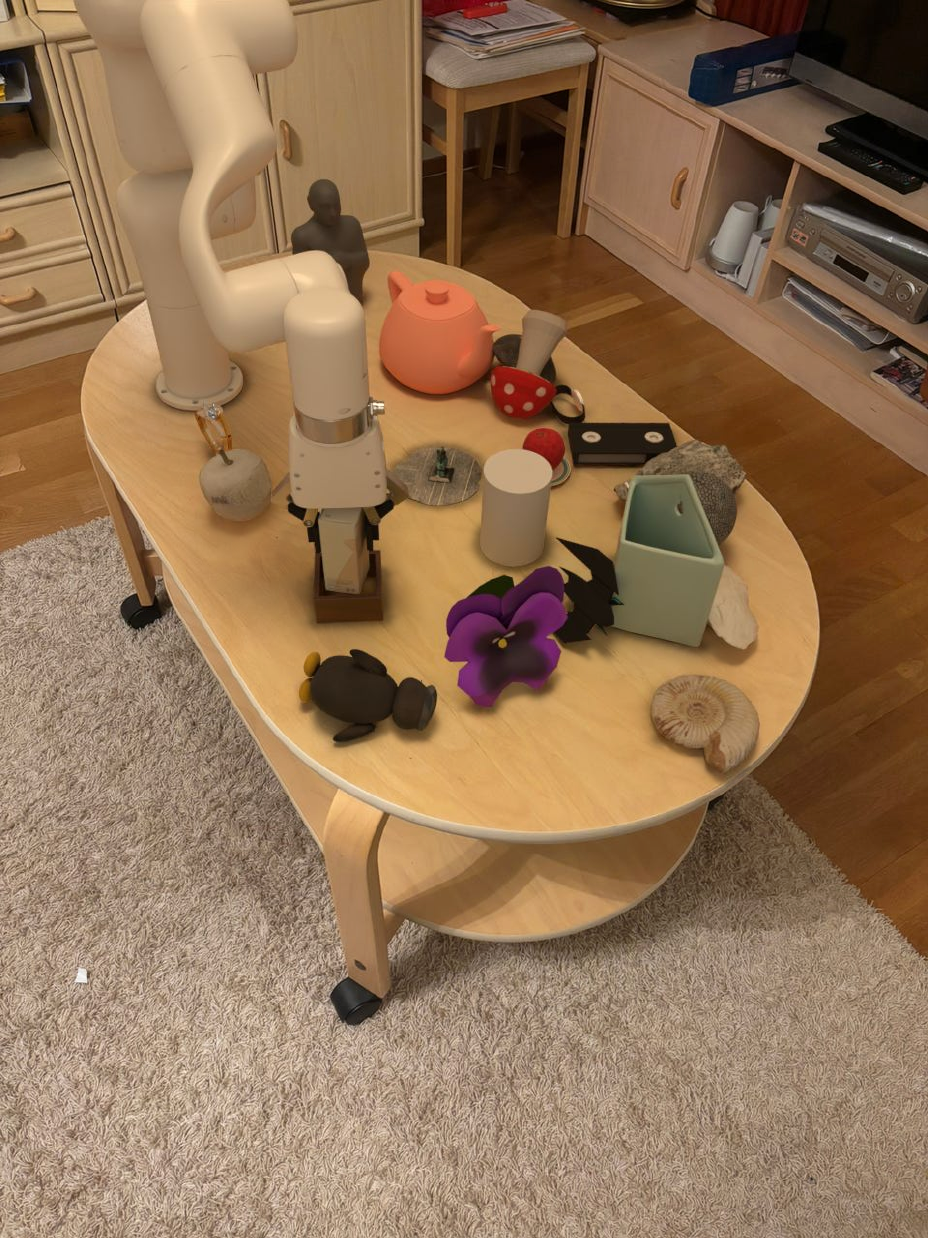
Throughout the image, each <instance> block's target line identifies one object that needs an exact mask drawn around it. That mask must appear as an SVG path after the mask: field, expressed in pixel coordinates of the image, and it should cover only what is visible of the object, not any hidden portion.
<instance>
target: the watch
mask: <svg viewBox="0 0 928 1238" xmlns="http://www.w3.org/2000/svg"><path fill="white" fill-rule="evenodd" d="M554 387H555V388H556V390H557V391H556V395H555V397H556V396H558V395H560V394H564V395H567V396H570V398H572V400H573V403H574V405H575V407H576V408H577V409H578V411H579V412H582V413H581V414H579V415H577V416H567V415H565V414H563V413H561V412H560V411H559V410H558V409H557V407H556V406H555V404H554V402H553V400H552V401H551V402H550V403H549V404H550V408H551V413H552V414H553V416H554V417H557V418H558V420H559V421H560V422H561V423H563V424H566V425H568V426H569V423H584V421H585V419H586V406H585V405H586V404H585V401H584V398H583V397H582V394H581V392H580V391H579V390H578V389H576V388H575V389H572V388H571V387H570V386H569V385H567V384H557V385H554Z"/></svg>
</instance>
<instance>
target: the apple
mask: <svg viewBox="0 0 928 1238" xmlns="http://www.w3.org/2000/svg"><path fill="white" fill-rule="evenodd" d="M521 449H523V450H528V451H532V452H534V453H537V454H539V455H541V456H542V457H544V458H545V459H546V460H547V461H548V462H549V464H550V465H551V468H552V481H551V487H554V486H557V485H559V484H562V483H563V482H564V481H566V480H567V479H568V478H569V476H570V474H571V469H572V468H571V464H570V462H569V460H568V459H567V457H565V454H566V447H565V441H564V439H563V437H562V435H561V434H560V433H559V432H558V431H556V430H554V429H551V428H548V427H538V428H535V429H533V430H531V431H530V432H528V434H527V435H526V436H525V438H524V440H523V443H522V448H521Z"/></svg>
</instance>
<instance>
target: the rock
mask: <svg viewBox="0 0 928 1238" xmlns="http://www.w3.org/2000/svg"><path fill="white" fill-rule="evenodd" d="M690 471H703V472H707V473H711V474H713V475H715V476H717V477H719V478H720V479H722V480H723V481H724V482H725V483H726V484H727V485H728V486H729V488H730V489H731V491H732V492H733V494H734V495H736V493H737V492H738V490H739V489H740V488H741V486H742V485H743V484H744V482H745V480H746V477H747V473H746V471H745V470H744V467H743V466H742V465H741V464H740V462H739V460H737V459H736V458H733V456H732V454H730V452H729V448H728V447H727V445H725V444H715V445H711V444H707V443H705V442H703V441H700V440H699V439H692V440H690V441H686V442H684V443H682V444H681V445H677V447H675V448H674V449H672V450H670V451H669V452H667V453H662V454H660V455H658V456H657V457H654V458H652V459H651V460H649V461H648V462H647V463H646V464H645V465H643V466H642V467H641V468H640V469H639V470H637V472H636V474H634V476H636V475H679V474H682V473H685V472H690ZM630 480H631V478H629V479H628V480H626V481H624V482H622V483H620V484H617V485H614V487H613V492H615V494H616V496H617V497H618V498H619V499H620V500H621V501H623V502H625V503H626V493H625V482H627V483H628V484H630Z"/></svg>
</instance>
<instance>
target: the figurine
mask: <svg viewBox="0 0 928 1238" xmlns="http://www.w3.org/2000/svg"><path fill="white" fill-rule="evenodd" d="M306 200H307V204H308V207H309V209H310V210H311V212H313V215H312V216H311V217H310V218H308V220H307V221H305V222H304V223H303V224H301V225H299V226H296V227H295V228H293V230H292V232H291V234H290V242H291V247H292V248H291V249H292V252H291V253H292V254H291V255H295V254H298V253H302V252H307V251H315V250H317V251H323V252H326V253H327V254H329V255H330V256H331V257H332V258H333V259H334V260H335V261H336V263H338V264H339V265H340V266H341V267H342V269H343V271H344V273H345V276H346V279H347V284H348V289H349V291H350V294H351V295H353V296H354V297H355V298H356V299H357V300H358V301H359V302H360V304H361V305H362V304H363V301H364V300H363V295H364V291H363V290H364V289H363V283H364V282H363V281H364V277H365V274H366V272H367V271H368V270H369V268H370V262H371V261H370V255H369V251H368V248H367V244H366V239H365V236H364V233H363V229H362V225H361V222H360V221H359V220H358V218H357V217H356V216H353V215H350V214H342V204H341V196H340V192H339V188H338V187H337V184H336V183H335V182H334V181H333V180H330V179H328V178H320V179H317V180H315V181H314V182H313V183H311V185H310V187H309V189H308V195H307V196H306Z"/></svg>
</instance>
